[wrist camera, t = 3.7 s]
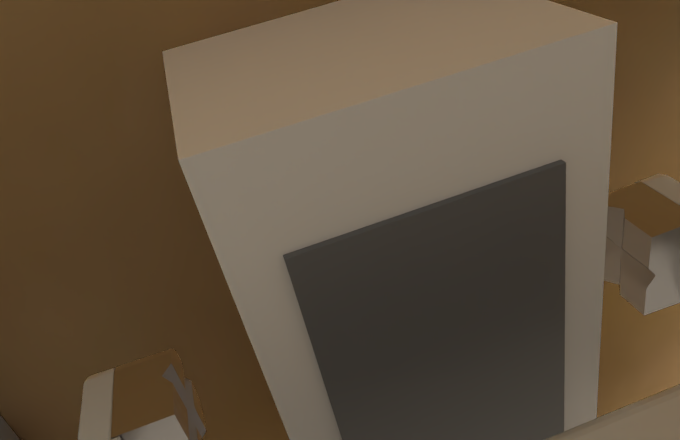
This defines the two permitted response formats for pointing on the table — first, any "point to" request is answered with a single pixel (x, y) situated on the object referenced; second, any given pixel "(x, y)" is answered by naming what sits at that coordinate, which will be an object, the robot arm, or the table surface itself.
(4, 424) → the pin tray
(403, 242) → the block
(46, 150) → the table surface
